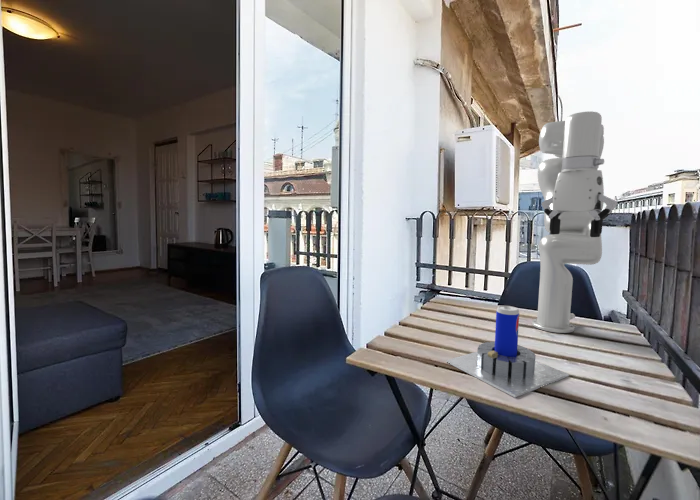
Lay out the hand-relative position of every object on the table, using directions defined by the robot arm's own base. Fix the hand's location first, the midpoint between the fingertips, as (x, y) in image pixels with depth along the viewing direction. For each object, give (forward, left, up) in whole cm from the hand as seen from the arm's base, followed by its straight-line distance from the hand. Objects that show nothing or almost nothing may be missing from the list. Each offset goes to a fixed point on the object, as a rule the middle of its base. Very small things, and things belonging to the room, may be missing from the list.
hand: (573, 235), depth 89 cm
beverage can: (+17, -5, -33) cm, 37 cm away
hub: (+17, -5, -33) cm, 38 cm away
